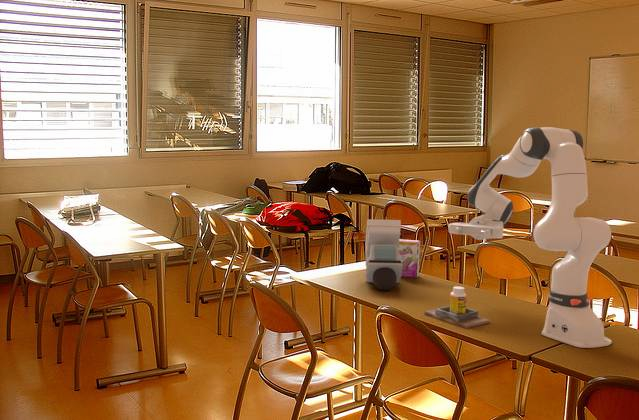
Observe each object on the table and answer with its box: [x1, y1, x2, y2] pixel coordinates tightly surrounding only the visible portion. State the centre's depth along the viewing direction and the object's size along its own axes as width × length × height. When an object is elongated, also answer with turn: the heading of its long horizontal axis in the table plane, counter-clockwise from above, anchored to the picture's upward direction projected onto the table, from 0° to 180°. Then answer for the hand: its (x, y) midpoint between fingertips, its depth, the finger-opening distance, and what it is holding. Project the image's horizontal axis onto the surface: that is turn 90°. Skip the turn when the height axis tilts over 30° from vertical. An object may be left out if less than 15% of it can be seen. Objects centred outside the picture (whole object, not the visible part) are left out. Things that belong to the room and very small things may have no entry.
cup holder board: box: [423, 305, 491, 329], centre depth 242 cm, size 20×12×3 cm, turn 36°
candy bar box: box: [399, 238, 421, 279], centre depth 306 cm, size 11×5×16 cm, turn 74°
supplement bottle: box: [449, 285, 467, 315], centre depth 242 cm, size 6×6×10 cm
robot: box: [365, 218, 403, 291], centre depth 289 cm, size 14×22×30 cm
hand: (470, 232), depth 249 cm, fingers open, 8 cm apart
